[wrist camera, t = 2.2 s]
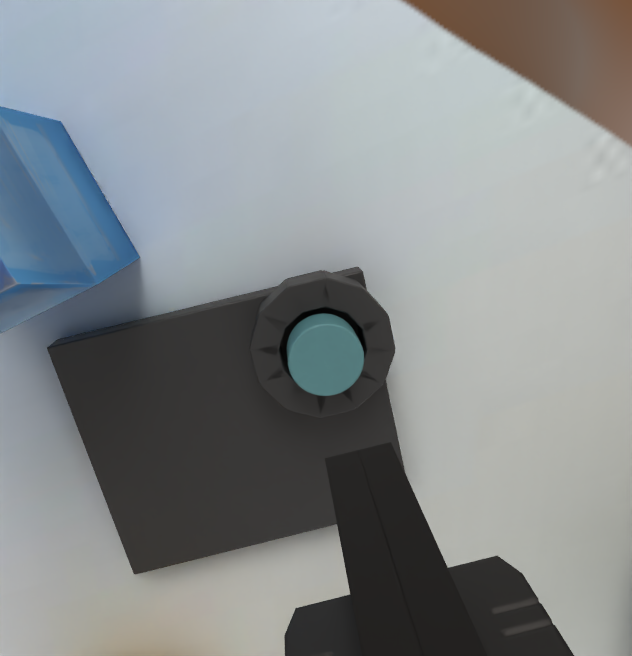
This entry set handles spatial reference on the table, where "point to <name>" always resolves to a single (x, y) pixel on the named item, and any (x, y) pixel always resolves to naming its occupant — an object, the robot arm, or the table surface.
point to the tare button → (324, 355)
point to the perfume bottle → (50, 220)
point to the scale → (223, 418)
